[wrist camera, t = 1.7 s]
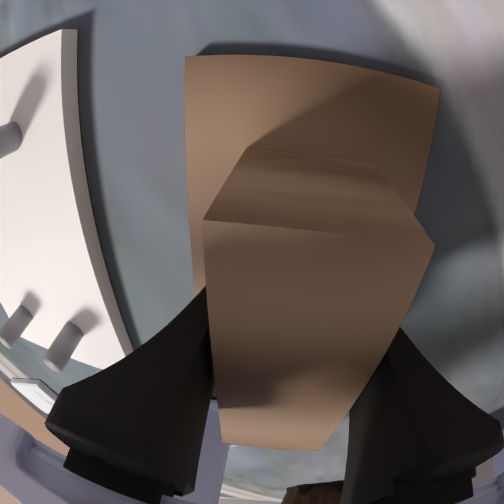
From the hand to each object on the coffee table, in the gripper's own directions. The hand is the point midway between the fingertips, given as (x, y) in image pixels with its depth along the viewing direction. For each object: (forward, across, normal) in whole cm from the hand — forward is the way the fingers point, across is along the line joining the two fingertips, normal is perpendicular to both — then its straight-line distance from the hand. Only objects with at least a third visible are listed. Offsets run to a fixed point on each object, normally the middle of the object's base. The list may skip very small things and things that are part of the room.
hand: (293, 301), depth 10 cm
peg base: (+2, +15, 0) cm, 15 cm away
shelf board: (+2, 0, 0) cm, 2 cm away
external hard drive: (+3, +30, +28) cm, 41 cm away
